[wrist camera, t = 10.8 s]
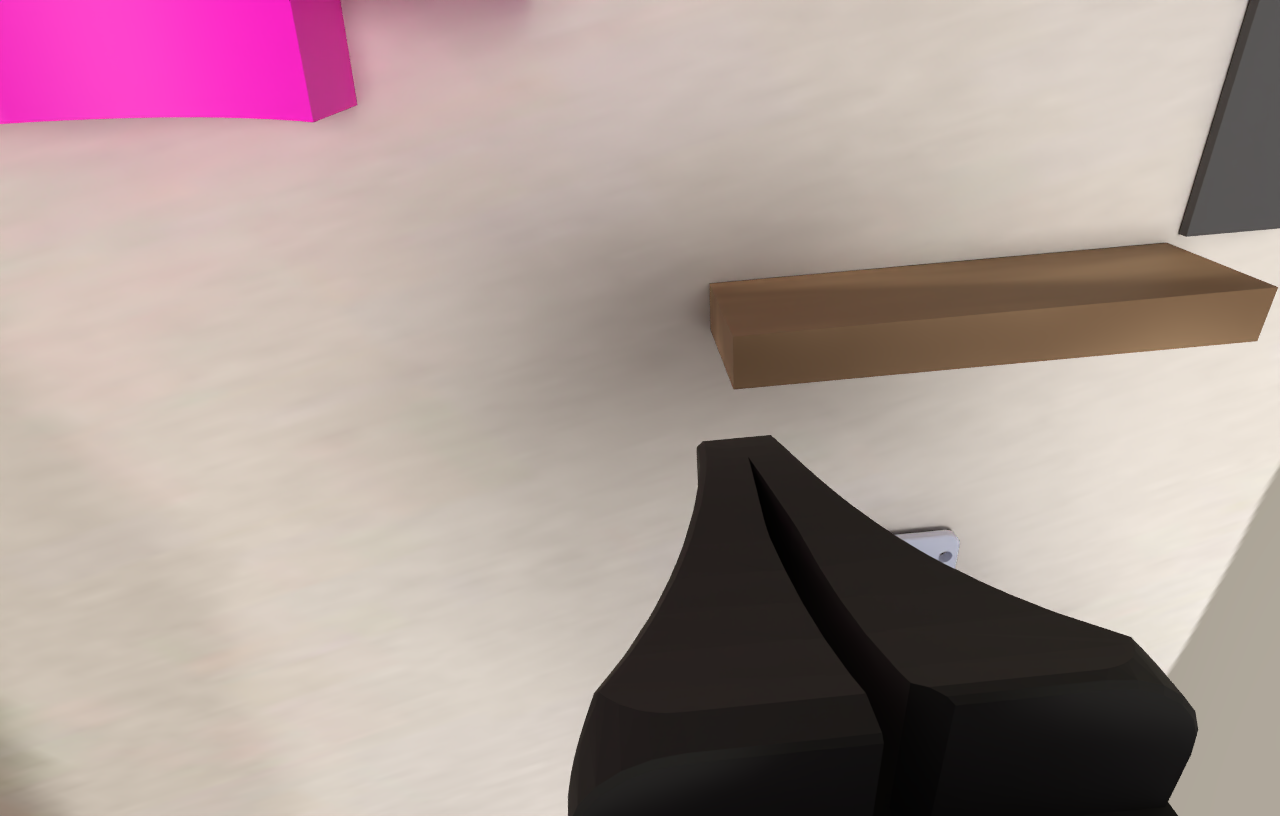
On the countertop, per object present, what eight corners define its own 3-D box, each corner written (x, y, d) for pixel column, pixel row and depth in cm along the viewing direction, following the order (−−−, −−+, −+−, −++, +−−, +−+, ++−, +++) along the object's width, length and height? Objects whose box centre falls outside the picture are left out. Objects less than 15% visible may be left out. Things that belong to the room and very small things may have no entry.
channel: (1152, 289, 22) (1257, 340, 19) (710, 329, 22) (733, 389, 19) (1307, -231, 16) (1504, -297, 13) (698, -185, 16) (729, -240, 12)
